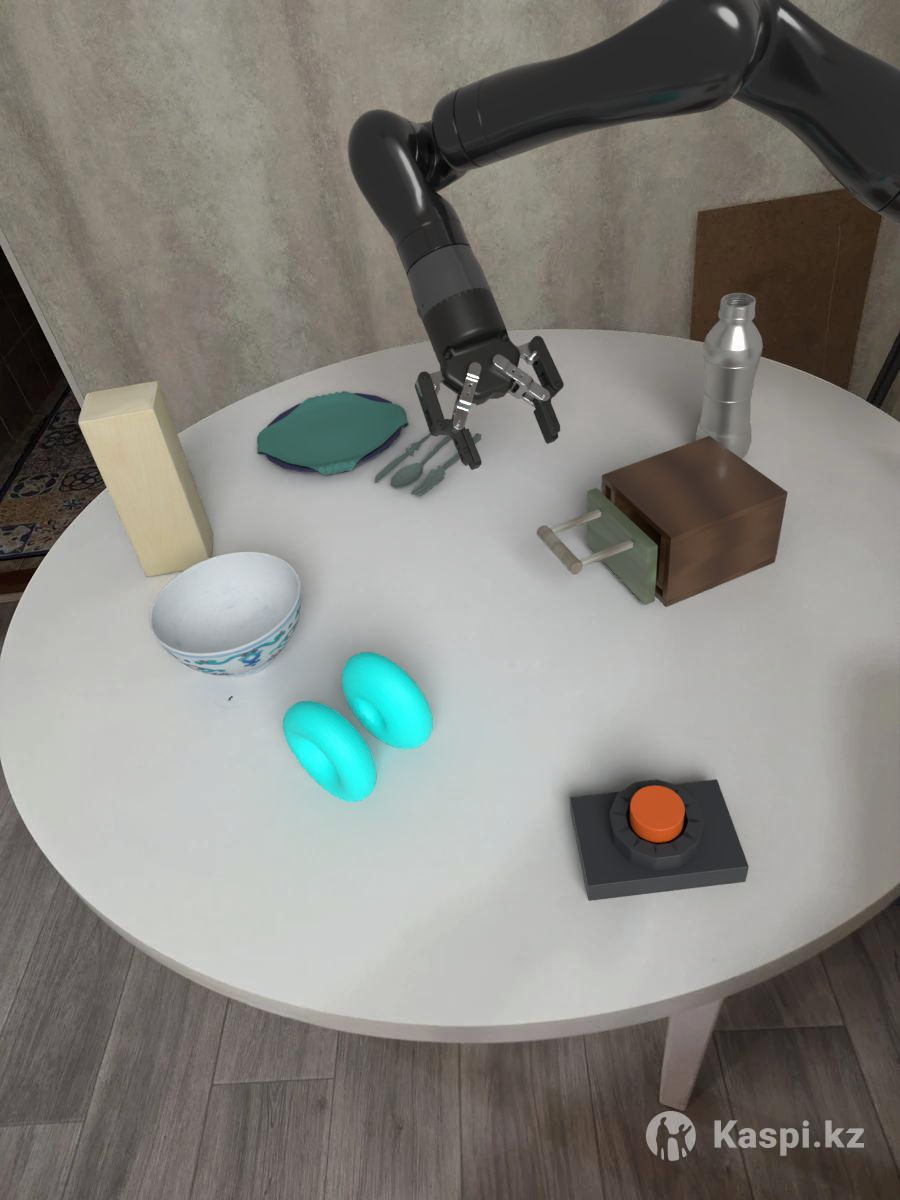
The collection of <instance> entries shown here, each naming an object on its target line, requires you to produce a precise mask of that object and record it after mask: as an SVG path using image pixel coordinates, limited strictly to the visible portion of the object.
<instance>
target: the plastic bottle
mask: <svg viewBox="0 0 900 1200" xmlns="http://www.w3.org/2000/svg"><path fill="white" fill-rule="evenodd" d="M756 300H757V299H756V297H755V296H752V295H751V294H748V293H744V292H734V293H733V292H732V293H729V294H726V295H724V296H722V297H721V299H720V303H719V304H720V305H719V310H718V312H717V313H718V314H717V316H718V319H719V321H717V322H716V323H715V324H714V325H713V326H712V328H711V329H710V330H709V332H707V334H706V336H705V338H704V341H703V344H702V347H703V351H702V353H703V367H704V392H703V393H704V396H703V403H702V408H701V413H700V419H699V422H698V424H697V427H696V433H695V439H694V440H695V441H696V440H699V439H702V438H704V437H707V436H711V437H712V438H714V439H715V440H716V441H718V442H719V443H720V444H722V445H723V446H725V447H726V448H727V449H729V450H730V451H731V452H733V453H734V454H736V455H737V456H738V457H740V458H741V459H743V460H744V458H745V457H746V456H747V454H748V453H749V450H750V447H751V444H752V424H751V410H752V409H751V405H752V396H753V390H754V384H755V379H756V374H757V371H758V368H759V365H760V362H761V357H762V354H763V349H764V345H763V344H764V343H763V337H762V336H761V334H760V332H759V330H758V328H757V326H756V325H755V323H754V322H753V320H754V319H755V317H756V303H757V302H756Z"/></svg>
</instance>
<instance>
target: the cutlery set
mask: <svg viewBox="0 0 900 1200" xmlns="http://www.w3.org/2000/svg"><path fill="white" fill-rule="evenodd" d="M409 425H410V423H409V421H408V418H407V413H406V410H405V408H404V407H403V406H401V405H400V404H398V403H393V402H392V401H390V400H388V399H386V398H383V397H381V396H378V395H375V394H369V393H363V392H361V393H360V392H350V391H347V390H344V391H341V392H338V391H336V392H334V393H328V394H322V395H320V396H319V395H315V396H313V397H308V398H305V400H304V401H302V402H301V403H298V404H295V405H294V406H292V407H290V408H288V409H287V410H284V411H283V412H281V413H279V414H278V415H277V416H276V417H275V418H274V419H272V421H270V423H268V424H267V426H266V427H265V428H263V429H261V431H259V432H258V435H257V437H256V442H257V443H256V444H257V445H256V447H257V449H256V454H257V455H260V456H265V457H266V458H267V459H268V461H269V462H271V463H273V464H275V465H277V466H279V467H281V468H282V469H287V470H290V471H291V470H292V471H296V472H302V473H309V472H310V473H312V472H313V473H318V472H319V474H322V475H325V476H330V475H334V474H335V475H336V474H338V473H345V472H351V471H352V470H353V469H354V468H355V466H356V465H358V464H360V463H363V462H366V461H368V460H371V459H373V458H374V457H376V456H377V455H379V454H380V453H382V452H384V451H386V450H387V449H389V447H390V446H391V445H392V444H393V443H394V442H395V441H396V440H397V439H398V437H400V435H401V431H402V428H403V429H405V428H407V427H408V426H409ZM431 436H432V435H431V434H430V432H429V433H428V434H427V435H425V436H424V437H422V438H421V439H419V440H418V441H417V442H413V443H410V447H405V451H406V452H404V453H402V454H400V455H399V456H397V457H396V458H395V459H393V460H392V461H391V462H390V463H389V464H387V465H386V466H385V467H384V468H383V469H381V470H380V471H379V472H378V473H377V474H376V475H375V476H374V484H377V483H379V482H380V481H381V480H382V479H383V478H384V477H386V476H387V475H388V474H389V473H390V472H392V471H393V470H394V469H395V468H397V467H398V466H399V465H400V464H401V463H403V461H405V460H406V459H407V458H409V456H410V457H413V458H414V457H415V456H414V455H415V454H414V453H415V452H417V451H419V450H420V447H421V445H422V444H423V443H425V442H427V440H428V439H429V438H430V437H431ZM472 438H473V441H474V443H475V445H477V443H479V442H480V441H482V434H481V433H477V432H476V433H475V434H474V435H473V436H472ZM451 441H453V439H452V438H451V437H450V436H447V435H445V437H443V438H442V440H441V441H439V443H437V444H436V446H435V447H434V448H432V450H430V452H429V453H428V454H427V455H426V456H425V457H424V458H423V459H422V461H421V462H415V463H412V464H408V465H405V466H404V467H402V468H400V469H399V470H397V471H396V472H395V473H394V474H393V476H392V477H391V478H390V485H389V487H392V488H397V489H400V488H403V487H408V486H410V485H412V484H413V483H415V482H416V481H418V480H419V479H420V477H421V476H422V475H423V472H424V465H425V464H426V463H428V461H429V460H430V459H431V458H433V457H434V456H435V455H436V454H437V453H438V452H439V451H440V450H441V449H443V448H444V447H445V446H447V444H449V442H451ZM459 461H461V459H460V456H459V454H458V452H456V454H454V455H453V456H452V457H451V458H450V459H449V460H447V461H446V462H444V463H443V464H442V465H437V468H435V469H430V471H429V473H428V474H427V475H426V477H424V478H423V480H422V481H421V482H420V484H418V485H417V487H415V488H414V490H412V491H411V492H410V495H414V496H416V497H417V496H418V497H419V498H421V497H423V496H425V494H427V493H428V492H429V491H430V490H432V489H433V488H434V487H435V486H437V485H438V484H440V483H441V482H442V481H443V480H445V475H446V471H447V470H448V469H449V468H451V467H452V466H454V465H455V464H457V462H459Z"/></svg>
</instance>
